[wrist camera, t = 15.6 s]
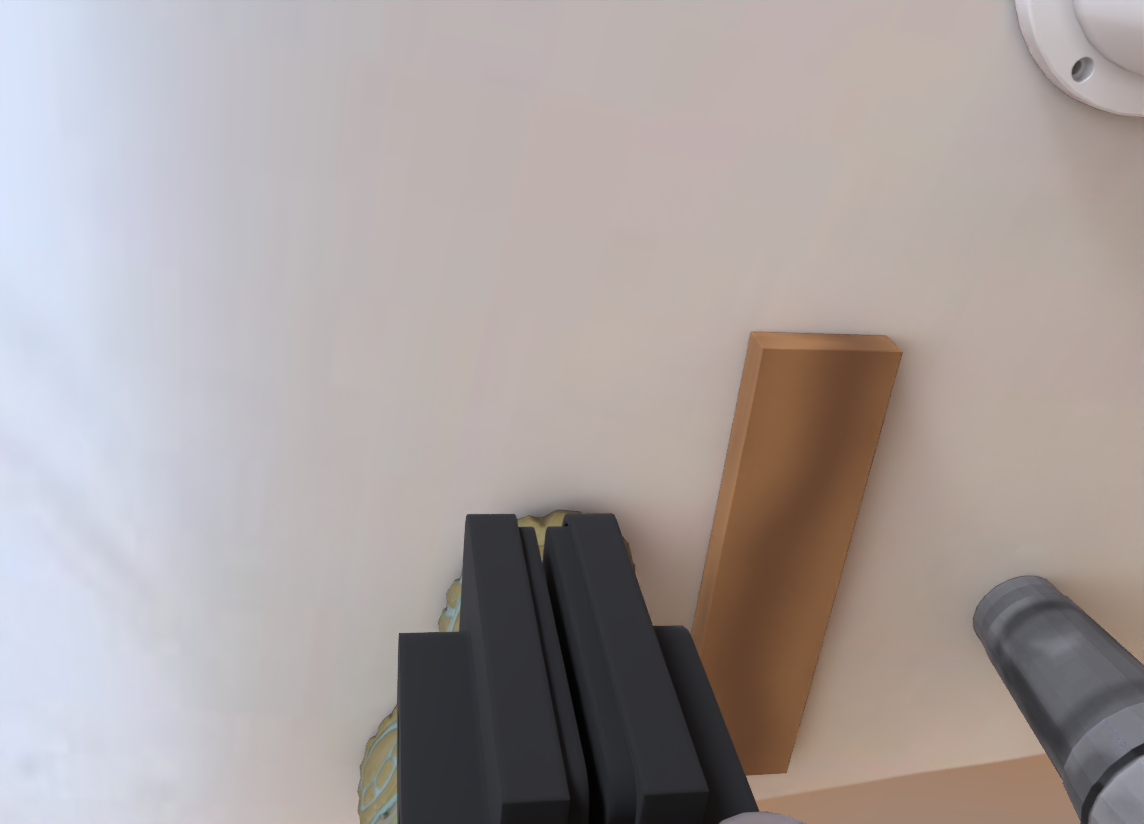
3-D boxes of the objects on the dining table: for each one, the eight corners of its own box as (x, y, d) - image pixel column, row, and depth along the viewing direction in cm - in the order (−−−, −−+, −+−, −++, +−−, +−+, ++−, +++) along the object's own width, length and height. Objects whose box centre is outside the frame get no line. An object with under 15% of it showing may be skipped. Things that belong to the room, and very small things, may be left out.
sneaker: (720, 595, 47) (812, 863, 34) (450, 826, 52) (436, 1137, 39) (552, 460, 43) (580, 701, 30) (278, 723, 49) (197, 1030, 35)
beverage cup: (984, 544, 49) (1311, 922, 31) (1108, 561, 51) (1481, 928, 33) (924, 659, 52) (1190, 1060, 35) (1042, 671, 54) (1351, 1058, 36)
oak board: (886, 335, 42) (903, 351, 41) (776, 749, 53) (786, 773, 52) (750, 331, 41) (762, 347, 40) (666, 755, 52) (674, 779, 51)
